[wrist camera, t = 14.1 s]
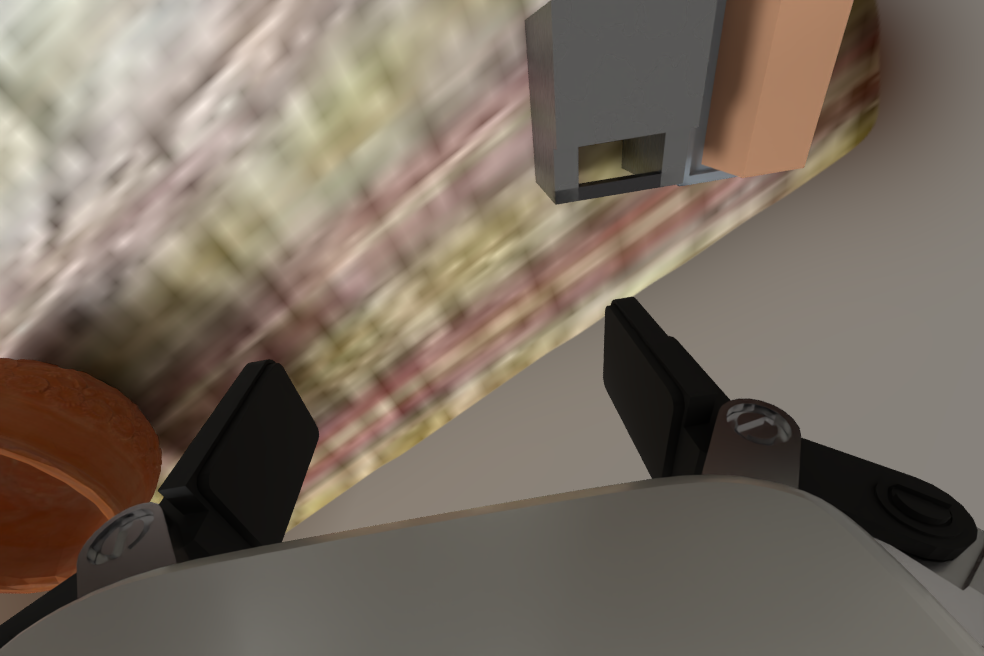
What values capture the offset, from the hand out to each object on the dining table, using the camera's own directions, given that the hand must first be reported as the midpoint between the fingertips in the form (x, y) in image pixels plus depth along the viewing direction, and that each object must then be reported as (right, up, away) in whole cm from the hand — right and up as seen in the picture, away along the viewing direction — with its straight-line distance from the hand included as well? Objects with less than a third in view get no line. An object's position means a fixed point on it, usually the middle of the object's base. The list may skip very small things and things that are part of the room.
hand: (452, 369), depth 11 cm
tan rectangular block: (+22, +22, +21) cm, 38 cm away
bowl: (-46, -7, +33) cm, 57 cm away
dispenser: (+9, +21, +21) cm, 31 cm away
